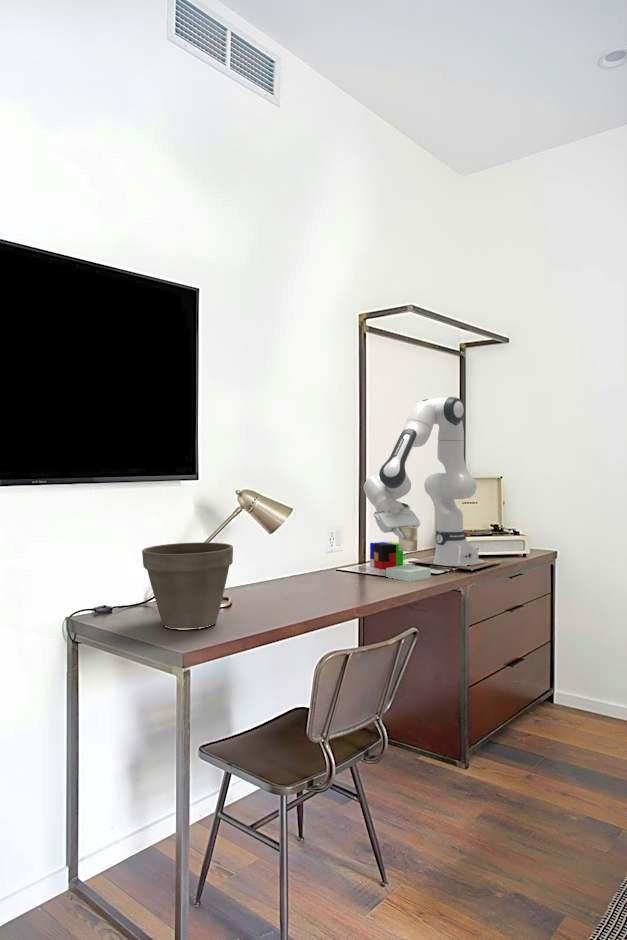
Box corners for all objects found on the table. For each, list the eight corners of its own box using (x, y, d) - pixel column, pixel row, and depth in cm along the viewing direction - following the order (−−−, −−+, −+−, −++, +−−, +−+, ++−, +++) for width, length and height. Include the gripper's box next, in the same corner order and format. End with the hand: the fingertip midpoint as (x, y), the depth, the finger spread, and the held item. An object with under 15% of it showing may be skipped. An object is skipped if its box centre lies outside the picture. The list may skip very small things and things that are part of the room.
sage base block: (406, 574, 271) (406, 564, 271) (430, 578, 262) (430, 568, 262) (386, 578, 263) (386, 568, 263) (410, 582, 254) (410, 572, 254)
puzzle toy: (370, 566, 289) (370, 542, 289) (390, 564, 293) (390, 541, 293) (382, 570, 280) (382, 545, 280) (403, 568, 284) (403, 544, 284)
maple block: (407, 549, 265) (407, 526, 265) (417, 550, 262) (417, 527, 261) (398, 550, 262) (398, 526, 262) (408, 551, 258) (408, 527, 258)
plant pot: (123, 627, 187) (122, 548, 187) (188, 610, 208) (187, 539, 207) (189, 641, 173) (188, 555, 173) (251, 621, 194) (251, 545, 193)
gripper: (376, 506, 260) (395, 534, 253) (411, 504, 273) (430, 530, 266) (367, 517, 263) (386, 545, 256) (402, 514, 277) (421, 541, 270)
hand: (409, 537), depth 261 cm, fingers closed on maple block, 5 cm apart
